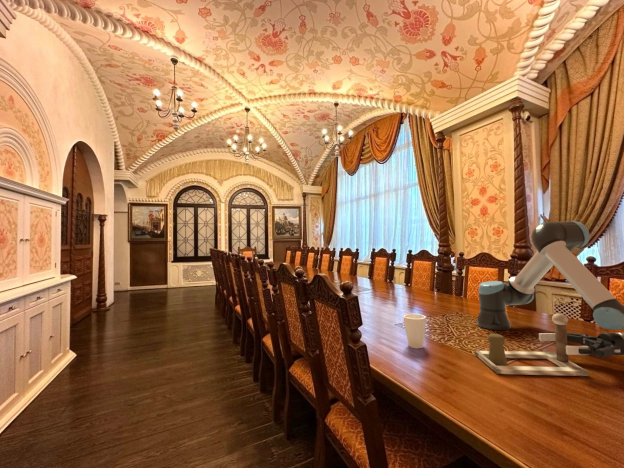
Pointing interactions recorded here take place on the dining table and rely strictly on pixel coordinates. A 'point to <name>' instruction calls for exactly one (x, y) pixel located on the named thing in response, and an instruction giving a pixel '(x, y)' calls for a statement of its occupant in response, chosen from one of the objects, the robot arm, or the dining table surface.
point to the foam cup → (415, 329)
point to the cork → (497, 350)
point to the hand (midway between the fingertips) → (552, 343)
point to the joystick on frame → (541, 356)
